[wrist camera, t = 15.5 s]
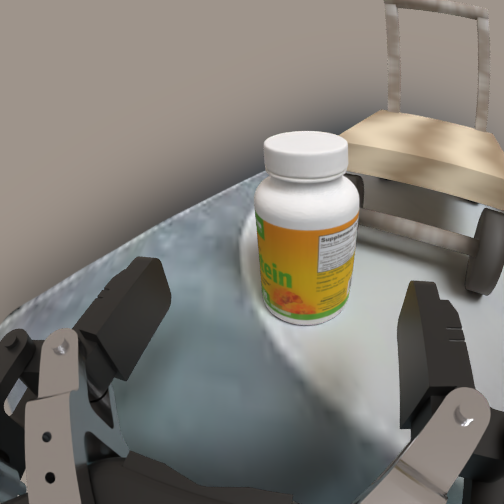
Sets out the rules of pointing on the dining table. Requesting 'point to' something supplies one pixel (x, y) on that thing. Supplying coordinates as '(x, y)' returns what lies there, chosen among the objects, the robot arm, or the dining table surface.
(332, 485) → the dining table surface
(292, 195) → the supplement bottle
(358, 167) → the trolley
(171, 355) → the dining table surface
